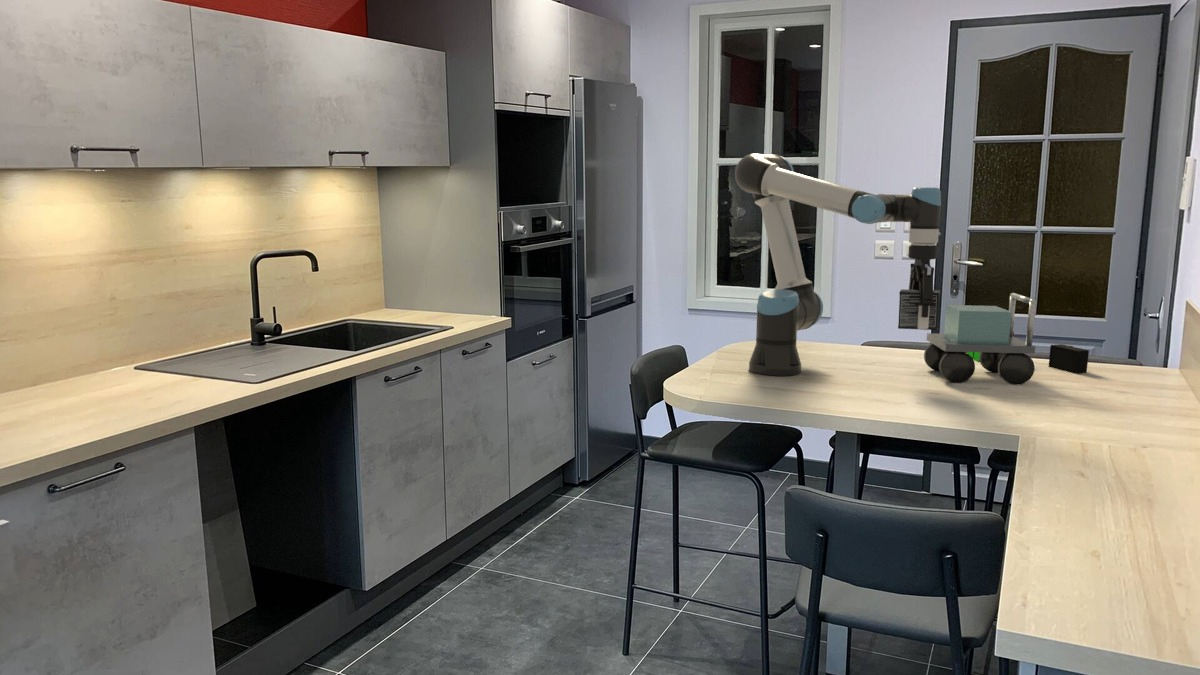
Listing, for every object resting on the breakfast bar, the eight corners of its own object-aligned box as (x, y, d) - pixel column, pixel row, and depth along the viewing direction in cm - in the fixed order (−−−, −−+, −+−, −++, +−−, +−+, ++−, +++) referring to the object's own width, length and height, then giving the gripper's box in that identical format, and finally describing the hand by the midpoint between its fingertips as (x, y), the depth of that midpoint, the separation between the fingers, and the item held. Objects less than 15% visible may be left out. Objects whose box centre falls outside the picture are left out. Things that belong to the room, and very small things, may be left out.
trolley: (940, 383, 246) (947, 298, 242) (922, 369, 264) (928, 290, 259) (1033, 385, 244) (1041, 300, 240) (1008, 371, 262) (1016, 292, 258)
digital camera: (1090, 373, 261) (1092, 349, 260) (1075, 374, 260) (1078, 350, 258) (1062, 366, 271) (1064, 343, 270) (1048, 367, 269) (1050, 344, 268)
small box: (939, 326, 247) (941, 289, 245) (938, 330, 241) (940, 292, 239) (899, 324, 251) (901, 288, 249) (897, 328, 245) (899, 291, 243)
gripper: (949, 246, 231) (943, 332, 235) (926, 242, 252) (921, 321, 255) (920, 246, 232) (915, 332, 236) (899, 242, 252) (895, 320, 256)
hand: (918, 326), depth 246 cm, fingers closed on small box, 8 cm apart
